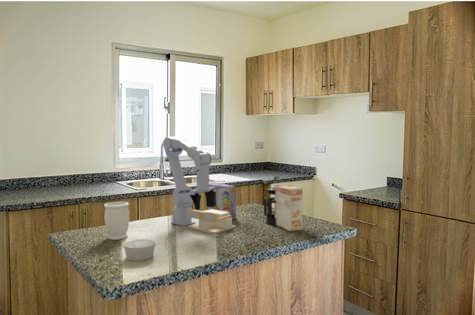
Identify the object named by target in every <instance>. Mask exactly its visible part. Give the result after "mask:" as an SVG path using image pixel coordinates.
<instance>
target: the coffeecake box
mask: <svg viewBox="0 0 475 315" xmlns="http://www.w3.org/2000/svg"><path fill="white" fill-rule="evenodd" d="M274 188H275V190H276V195H274V197H275V200H276V203H273V204H274V207H273V208H274V211H275V213H273V214H274V218H276V225H275V226H278V227H281V228H282V229H285V230H287V231H289V232H293V231H301V230H302V231H303V196H304V195H303V190H304V189H303V187H298V186H293V185H289V184H287V183H285V184H283V183H282V184H276V185H275V184H274Z"/></svg>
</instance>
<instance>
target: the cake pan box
mask: <svg viewBox="0 0 475 315" xmlns="http://www.w3.org/2000/svg"><path fill="white" fill-rule="evenodd" d="M212 186H213V187H215V191H214V192H216V194H215V196H214V198H213V200H212V204H211V207H207V208H208V210H210V209H214V210H219V211H225V212H230V215H232V217H231V218H232V220H235V219H236V220H237V205H236V204H237V203H236V186H235V185H231V184H226V183H220V182H219V183H218V182H209V187H212Z"/></svg>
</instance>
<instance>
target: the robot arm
mask: <svg viewBox="0 0 475 315" xmlns="http://www.w3.org/2000/svg"><path fill="white" fill-rule="evenodd" d="M163 149H164V153H165V155H166V156H167V159H168V163H169V167H170V170H171V174H172V177H173V178H172V179H173V181H174V185H175V189H174V190H173V191H172V194H171V195H172V202H173V204H174V206H173V208H172V210H171V211H172V221H171V224H174V225H178V226H184V227H185V226H186V227H187V226H189V225H193V224H196V221H193V220H192V219H193V218H191V217H190V210H192V209H193V208H192V206H193V205H194V210H199V211H200V209H201V201H202V200H201V199H202V193H203V194H204V195H205V204H206V207H207V208H208V207H211V204H212V200H213V198H214V196H215V194H216V192H214V191H215V187H213V186H212V187H209V184H210V165H211V164H212V160H213V159H212V156H211V154H210V153H209V152H204V151H203V150H202V149H199V147H198V146H197V145H191V144H190V143H188V142H187V139H186V138H185V136H165V137H164V139H163ZM183 151H185V152H186V154H187V156H188V157H189V158H190V159H191V160H193V164H194V166H195V169H196V188H194V189H192V187H191V186H188V185H187V182H186V180H185V176H184V172H183V168H182V165H181V162H180V157H179V156H180V155H181V154H182V153H183Z"/></svg>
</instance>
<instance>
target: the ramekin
mask: <svg viewBox="0 0 475 315" xmlns="http://www.w3.org/2000/svg"><path fill="white" fill-rule="evenodd" d="M155 246H156V242H155V241H154V240H152V239H147V238H145V239H143V238H142V239H141V238H140V239H135V240H129V241H127V242H125V243H124V244H123V249H124V253H125V256H126V258H127V260H129V261H132V262H143V261H147V260H150V259H152V257H153V256H154V254H155Z"/></svg>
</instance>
